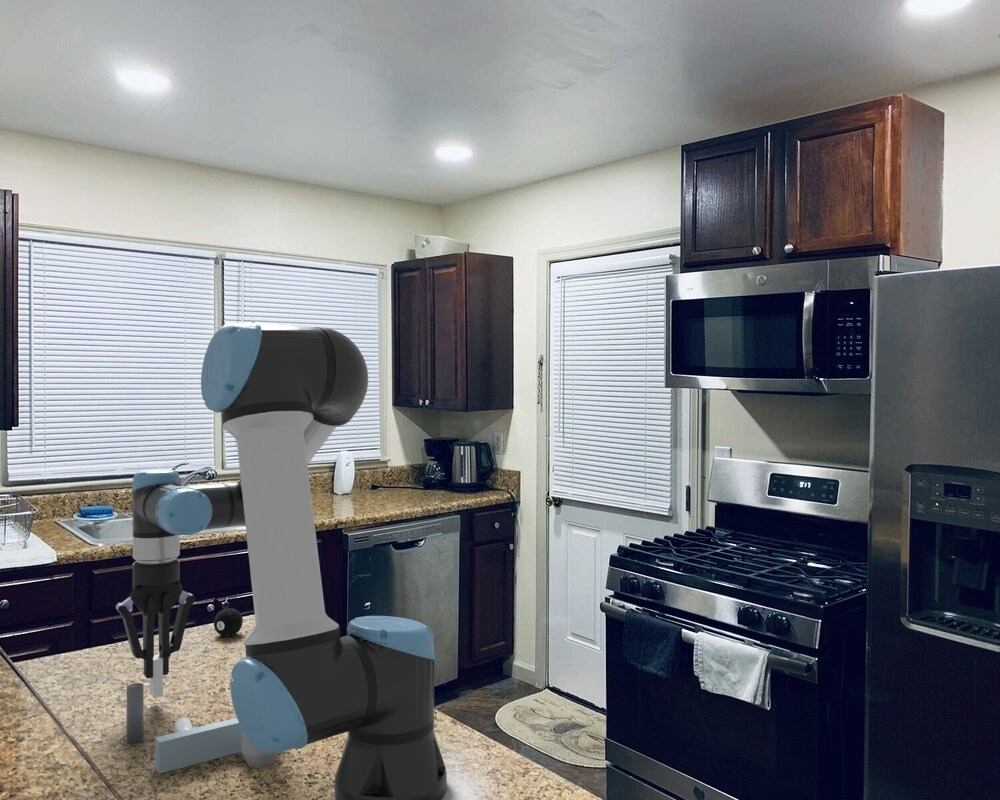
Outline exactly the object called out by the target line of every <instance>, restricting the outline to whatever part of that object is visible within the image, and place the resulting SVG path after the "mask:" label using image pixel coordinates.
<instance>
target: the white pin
mask: <svg viewBox="0 0 1000 800" xmlns="http://www.w3.org/2000/svg"><path fill="white" fill-rule="evenodd" d="M193 728H194V727H193V725H192V722H191V720H190V718H188V717H185V716H182V717H180V718H179V719H177V720H176V721H175V724H174V730H175V733H176V732H181V731H185V730H189V729H193Z"/></svg>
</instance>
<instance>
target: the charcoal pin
mask: <svg viewBox="0 0 1000 800" xmlns="http://www.w3.org/2000/svg"><path fill="white" fill-rule="evenodd" d="M144 691H145V690H144V683H140V682H136V683H130V684H128V685H127V686H126V743H128V744H130V743H131V744H132V743H133V744H137V743H138V744H139V743H140V741H141V742H143V741H142V740H144V735H145V734H144V731H145V730H144V727H145V726H144V724H145V723H144V713H145V711H144V708H145V707H144V703H145V702H144V701H145V700H144V697H145V696H144V694H145V693H144Z"/></svg>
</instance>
